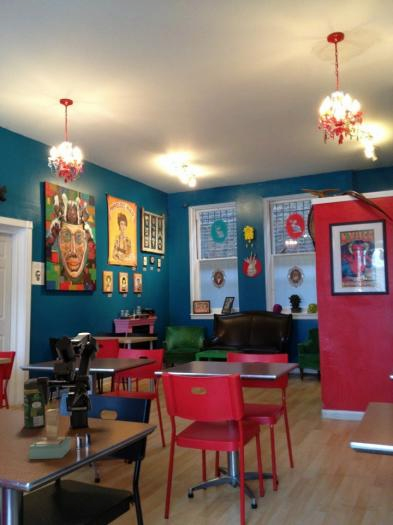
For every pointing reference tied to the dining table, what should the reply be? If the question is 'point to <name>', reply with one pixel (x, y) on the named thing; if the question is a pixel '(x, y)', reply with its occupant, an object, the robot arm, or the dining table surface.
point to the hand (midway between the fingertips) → (59, 404)
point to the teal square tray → (50, 450)
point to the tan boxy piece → (51, 429)
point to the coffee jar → (33, 405)
